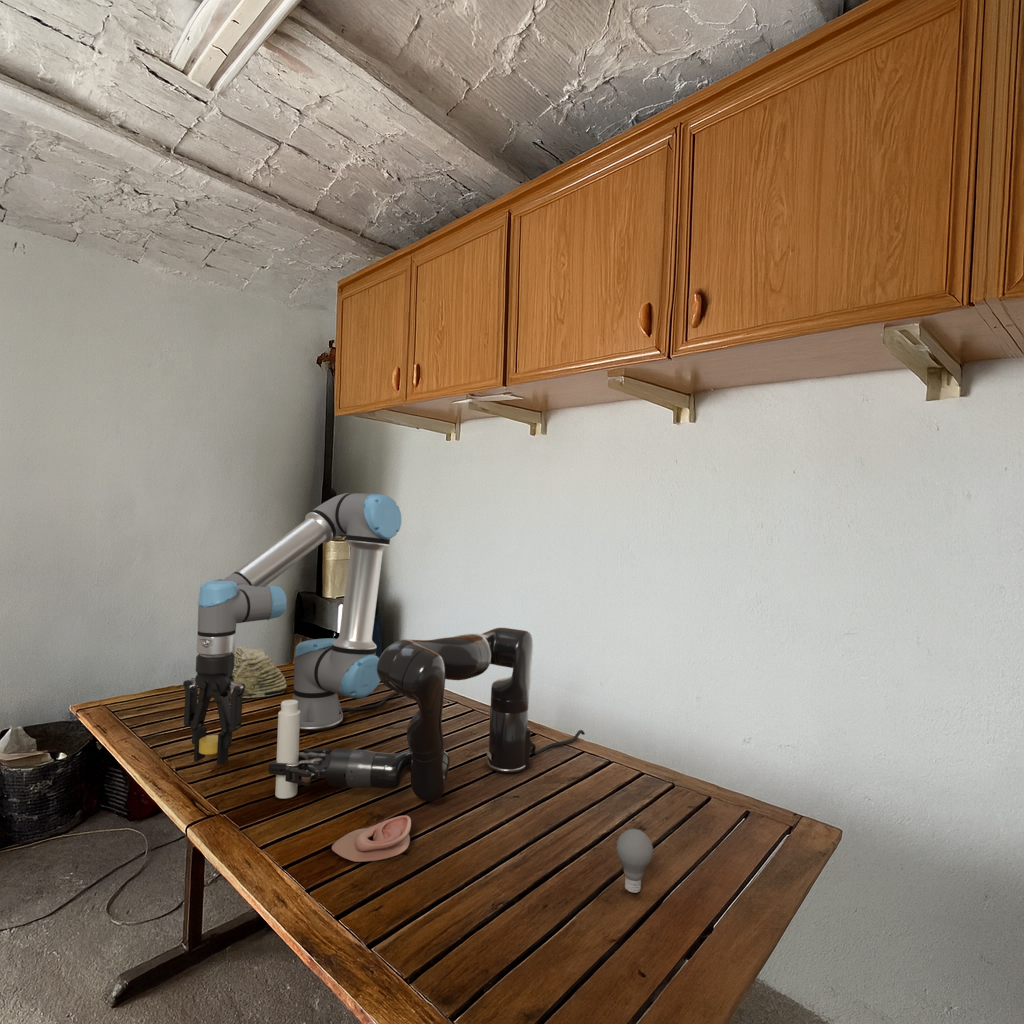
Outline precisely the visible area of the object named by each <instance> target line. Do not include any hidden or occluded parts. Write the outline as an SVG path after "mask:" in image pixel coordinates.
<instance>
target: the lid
mask: <svg viewBox="0 0 1024 1024" xmlns="http://www.w3.org/2000/svg"><path fill="white" fill-rule="evenodd" d="M217 749H218V734H211V735H206V736H205V737H203V738H201V739H200V740H199V753H201V754H205V755H215V754H216V755H217Z"/></svg>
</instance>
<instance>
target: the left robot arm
mask: <svg viewBox="0 0 1024 1024" xmlns="http://www.w3.org/2000/svg"><path fill="white" fill-rule="evenodd" d="M401 526H402V513H401V510H400V507H399V506H398V505H397V502H396V501H395V499H393V498H392V497H390V496H389V495H385V494H379V493H359V492H357V493H356V492H346V493H340V494H339V495H335V496H333V497H331V498H330V499H328V500H326V501H324V502H322V503H321V504H320V505H318V506H317V507H314V509H312V510H311V511H309V512H308V513H307V514H306V515H305V517H304V521H302V522H301V523H300V524H298V525H296V526H295V527H294V528H292V529H291V530H290V531H288V532H287V533H285V534H284V535H283V536H282V537H280V538H278V539H277V540H276V541H275V542H273V543H272V544H271V545H269V546H268V547H266V548H265V549H264V550H262V551H261V552H260V553H258V554H256V555H255V556H254V557H252V558H251V559H250V560H248V561H247V562H246V563H245V564H243V565H241V566H240V567H239V568H238V569H236V570H234V572H232V573H231V574H229V575H228V576H226V577H225V578H224V579H222V578H219V579H218V578H217V579H212V580H209V581H205V582H203V583H202V584H200V586H199V587H200V588H199V592H198V601H197V607H198V608H197V635H196V637H197V638H196V653H197V656H196V657H195V672H196V676H195V677H192V678H189V679H186V680H184V681H183V683H182V684H183V685H182V686H183V688H184V711H183V725H184V727H189V728H190V729H191V731H192V732H191V744H192V745H194V747H193V748H194V750H193V762H196V763H198V762H200V761H201V760H203V759H205V758H206V754H201V753H199V740H200V739H201V738H203V737H205V736H207V727H205V726H206V723H205V721H206V717H207V714H208V710H209V706H210V702H211V700H212V699H214V703H215V704H216V707H217V713H218V718H219V724H220V731H221V732H219V733H218V734H217V735H218V749H217V753H216V765H217V766H221V765H223V764H224V763H226V762H227V761H229V748H230V747H232V744H233V733H234V732H235V731H238V730H240V729H241V728H242V723H243V720H242V719H243V699H244V698H243V692H244V690H245V684H238V683H236V682H234V678H233V675H232V673H233V670H234V657H235V655H234V654H233V652H234V651H235V650H236V635H237V634H236V633H237V632H236V631H237V624H243V623H249V622H257V621H269V620H272V619H276V618H280V617H281V616H282V615H284V613H285V612H286V609H287V601H288V600H287V596H286V595H287V594H286V592H285V590H283V589H282V588H281V587H280V586H277V585H271V586H270V584H271V583H272V582H273V581H275V580H276V579H277V578H278V577H280V576H281V575H282V574H284V573H285V572H287V570H288V569H290V568H292V566H294V565H296V564H297V563H298V562H299V561H300V560H302V559H303V558H304V557H305V556H307V555H308V554H310V553H311V552H312V551H313V550H315V549H316V548H317V547H318V546H320V545H321V544H323V543H329V542H331V541H332V540H334V539H335V538H338V537H340V536H344V535H345V536H346V537H345V542H346V543H347V545H348V546H349V548H350V551H349V558H348V559H349V560H348V564H347V565H348V566H347V572H346V573H347V574H346V581H345V589H344V596H343V603H342V613H341V620H340V626H339V627H340V628H339V634H338V635H339V636H338V637H337V638H331V637H329V638H317V639H316V638H315V639H308V640H304V641H301V642H299V643H298V644H297V645H296V646H295V652H294V656H293V658H294V670H293V671H294V672H293V695H292V696H293V697H292V699H291V700H297V701H298V710H300V730H299V732H301V733H316V732H325V731H329V730H332V729H335V728H337V727H339V726H340V725H342V723H343V722H344V714H343V712H358V711H366V710H370V709H375V708H377V707H380V706H382V705H383V704H384V703H385V702H386V701H387V700H389V699H390V698H392V697H395V696H397V695H401V694H400V693H398V692H396V691H394V692H392V693H390V694H389V695H387V696H385V697H384V698H383V699H382V700H381V701H380V702H378V703H375V704H371V705H367V706H366V705H365V706H359V707H342V706H341V702H340V699H339V695H340V696H343V697H346V698H349V699H350V698H352V699H365V698H367V697H368V696H369V695H371V694H372V693H373V692H374V690H376V689H377V688H378V686H379V685H380V683H381V680H380V679H379V677H378V674H377V663H378V660H379V658H380V657H379V656H377V646H378V645H377V644H376V643H375V642H374V641H373V634H374V633H373V632H374V625H375V618H376V609H377V601H378V593H379V586H380V585H379V584H380V578H381V569H382V561H383V553H384V551H385V550H386V549H387V548H388V547H390V543H391V539H392V538H394V537H396V535H397V534H398V533H399V532H400V530H401ZM230 688H231V691H230V692H229V689H230ZM198 689H199V692H198ZM230 693H232V694H231V698H230Z"/></svg>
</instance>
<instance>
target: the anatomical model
mask: <svg viewBox="0 0 1024 1024" xmlns="http://www.w3.org/2000/svg"><path fill="white" fill-rule="evenodd" d="M411 828H412V820H411V817H410V816H409V815H406V814H405V815H399V816H395V817H392V818H389V819H386V820H383V821H380V822H378V823H377V824H374V825H372V826H369V827H365V828H364V827H363V828H359V829H355V830H352V831H351V832H348V833H346V834H345V835H343V836H342V837H340V838H338V840H336V841H335V842H334V843H333V844H332V845H331V850H332V852H334V853H335V854H337V855H338V856H340V857H341V858H343V859H345V860H348V861H351V862H354V863H356V862H357V863H361V862H364V863H365V862H374V861H380V860H381V861H382V860H385V859H386V860H387V859H389V858H393V857H395V856H398V855H400V854H403V852H405V851H406V850H407V849H408V848H409V845H410V842H411V837H410V832H411Z"/></svg>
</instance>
